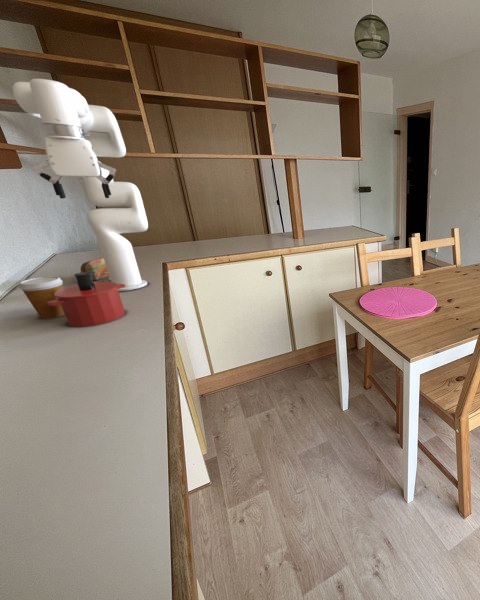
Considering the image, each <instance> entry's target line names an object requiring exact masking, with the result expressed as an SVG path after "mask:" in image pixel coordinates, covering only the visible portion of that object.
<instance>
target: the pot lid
mask: <svg viewBox="0 0 480 600" xmlns="http://www.w3.org/2000/svg"><path fill="white" fill-rule="evenodd" d="M74 278H75V281H76V284H75V285H71V286H67V287H64V288H63V289H61V290H59V291H57V292H55V294H54V295H55V297H58V298H81V297H88V296H94V295H98V294H103V293H106V292H109V291H112V290H114V289H116V288H117V287H118V284H117V283H114V282H111V281H94V280H93V279H92V276H91V273H90V272H81V271H80V272H77V273H74Z"/></svg>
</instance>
